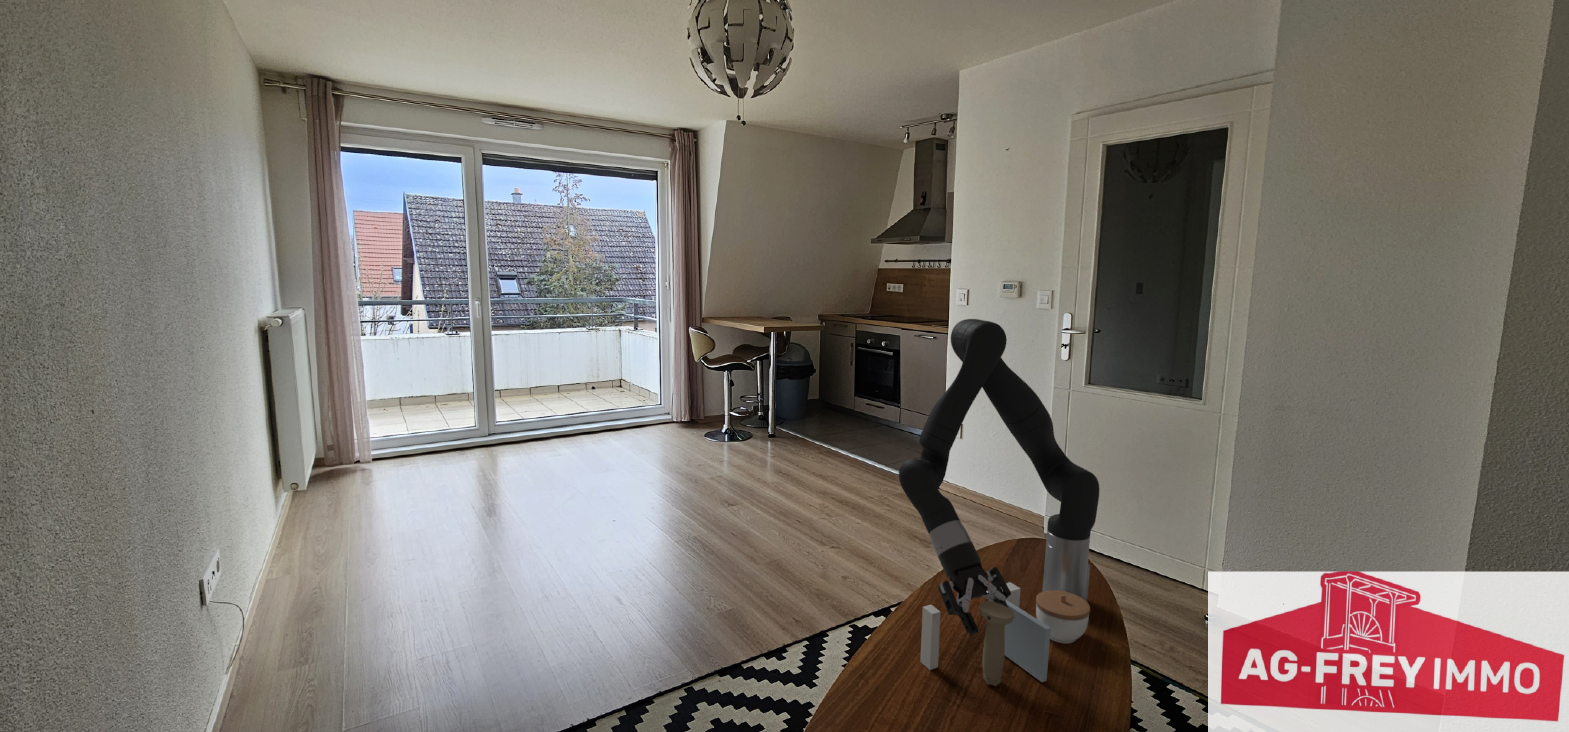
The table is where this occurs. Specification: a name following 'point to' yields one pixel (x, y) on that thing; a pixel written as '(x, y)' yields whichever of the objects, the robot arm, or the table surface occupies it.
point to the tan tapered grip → (994, 640)
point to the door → (1027, 642)
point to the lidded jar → (1063, 614)
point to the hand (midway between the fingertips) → (992, 627)
